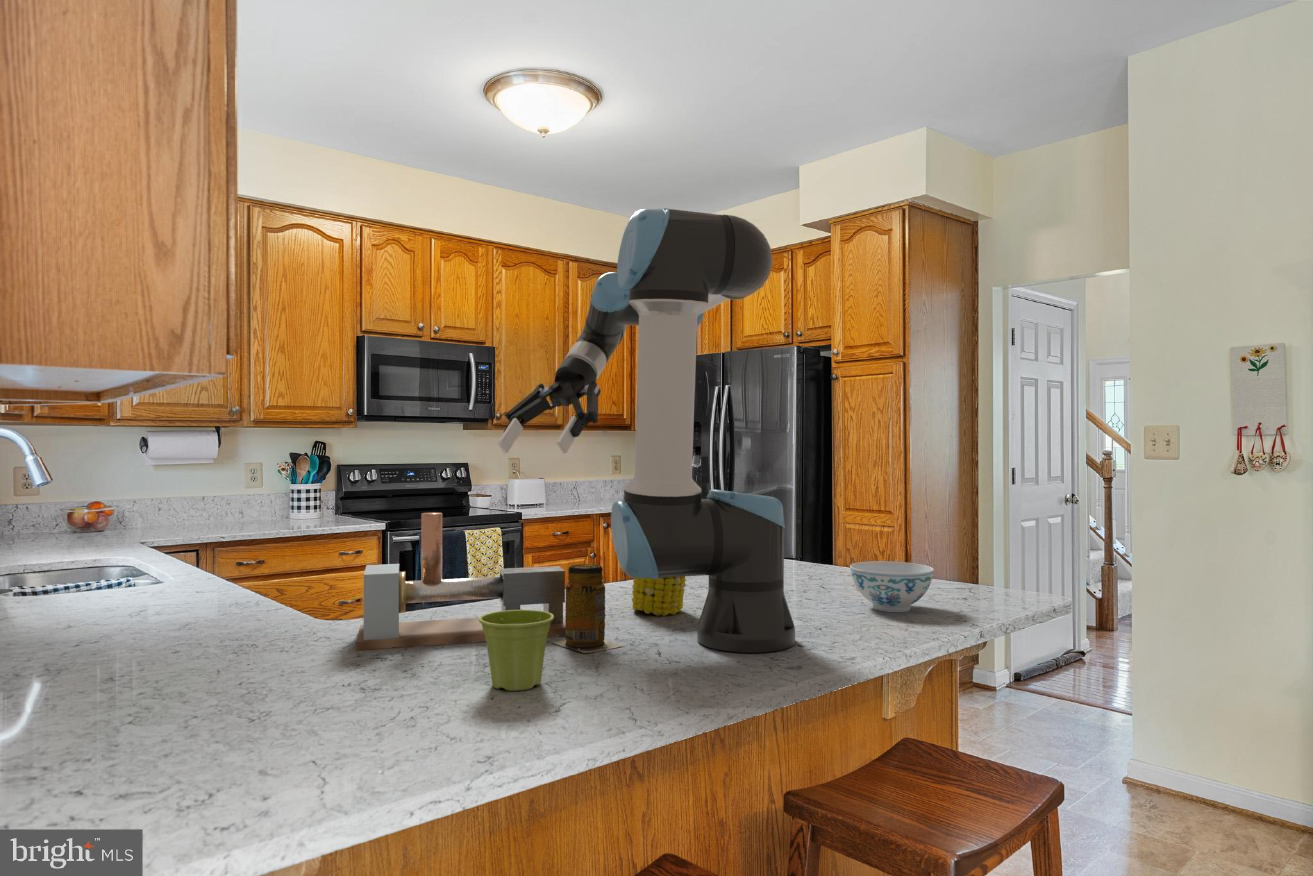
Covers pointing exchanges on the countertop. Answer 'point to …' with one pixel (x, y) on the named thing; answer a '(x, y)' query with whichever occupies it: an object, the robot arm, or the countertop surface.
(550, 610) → the grey concrete block
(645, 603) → the food
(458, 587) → the tube
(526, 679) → the plant pot
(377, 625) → the socket block
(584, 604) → the condiment
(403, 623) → the base board
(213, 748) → the countertop surface
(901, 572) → the chinaware
